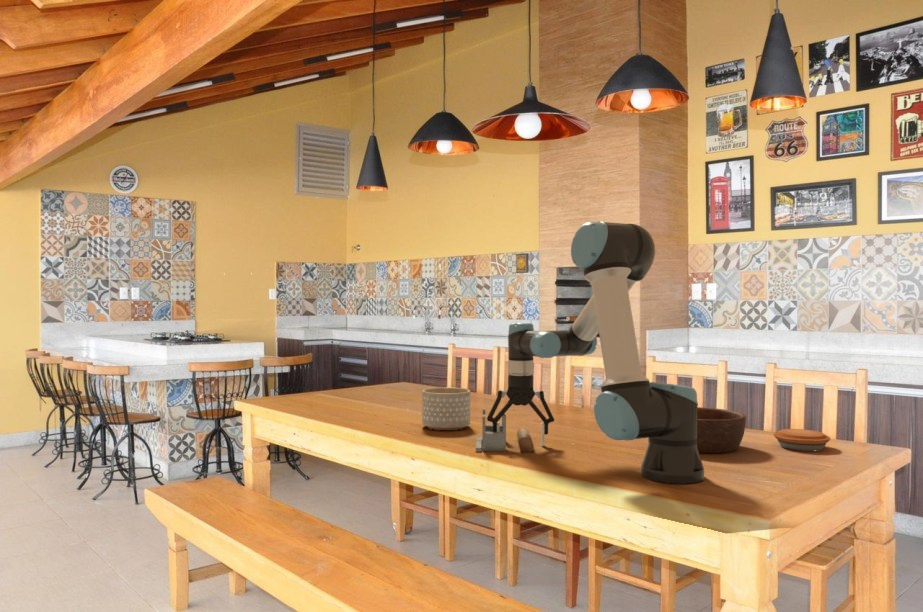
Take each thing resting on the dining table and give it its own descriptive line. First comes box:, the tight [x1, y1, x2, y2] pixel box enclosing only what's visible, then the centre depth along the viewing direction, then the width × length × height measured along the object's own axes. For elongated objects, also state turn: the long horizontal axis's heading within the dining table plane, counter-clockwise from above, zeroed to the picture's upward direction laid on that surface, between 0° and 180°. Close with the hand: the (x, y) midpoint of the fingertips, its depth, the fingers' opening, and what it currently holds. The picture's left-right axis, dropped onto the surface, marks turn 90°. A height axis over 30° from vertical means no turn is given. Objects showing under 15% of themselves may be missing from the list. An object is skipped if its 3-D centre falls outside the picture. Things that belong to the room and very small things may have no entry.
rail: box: [516, 427, 535, 454], centre depth 217 cm, size 19×4×4 cm
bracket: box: [475, 407, 507, 453], centre depth 217 cm, size 19×9×10 cm, turn 178°
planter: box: [421, 387, 471, 431], centre depth 247 cm, size 16×16×13 cm
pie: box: [772, 428, 831, 452], centre depth 216 cm, size 15×16×5 cm
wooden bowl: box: [697, 406, 747, 454], centre depth 216 cm, size 25×25×10 cm
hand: (520, 445), depth 217 cm, fingers open, 13 cm apart
